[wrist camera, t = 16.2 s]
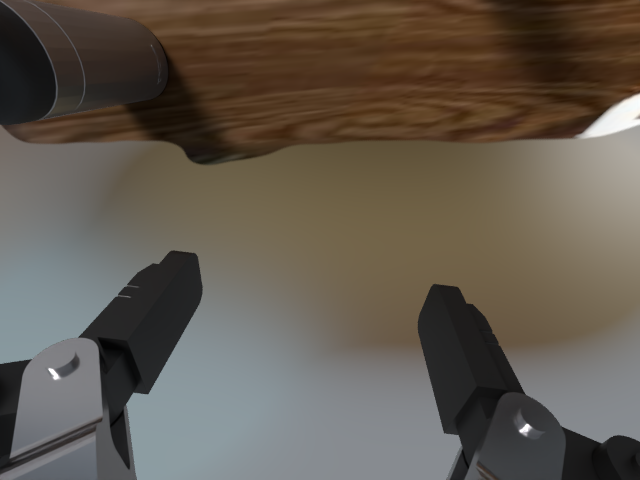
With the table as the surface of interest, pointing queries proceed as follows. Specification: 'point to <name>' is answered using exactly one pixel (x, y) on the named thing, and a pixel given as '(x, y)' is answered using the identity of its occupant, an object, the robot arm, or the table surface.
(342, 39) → the table surface
